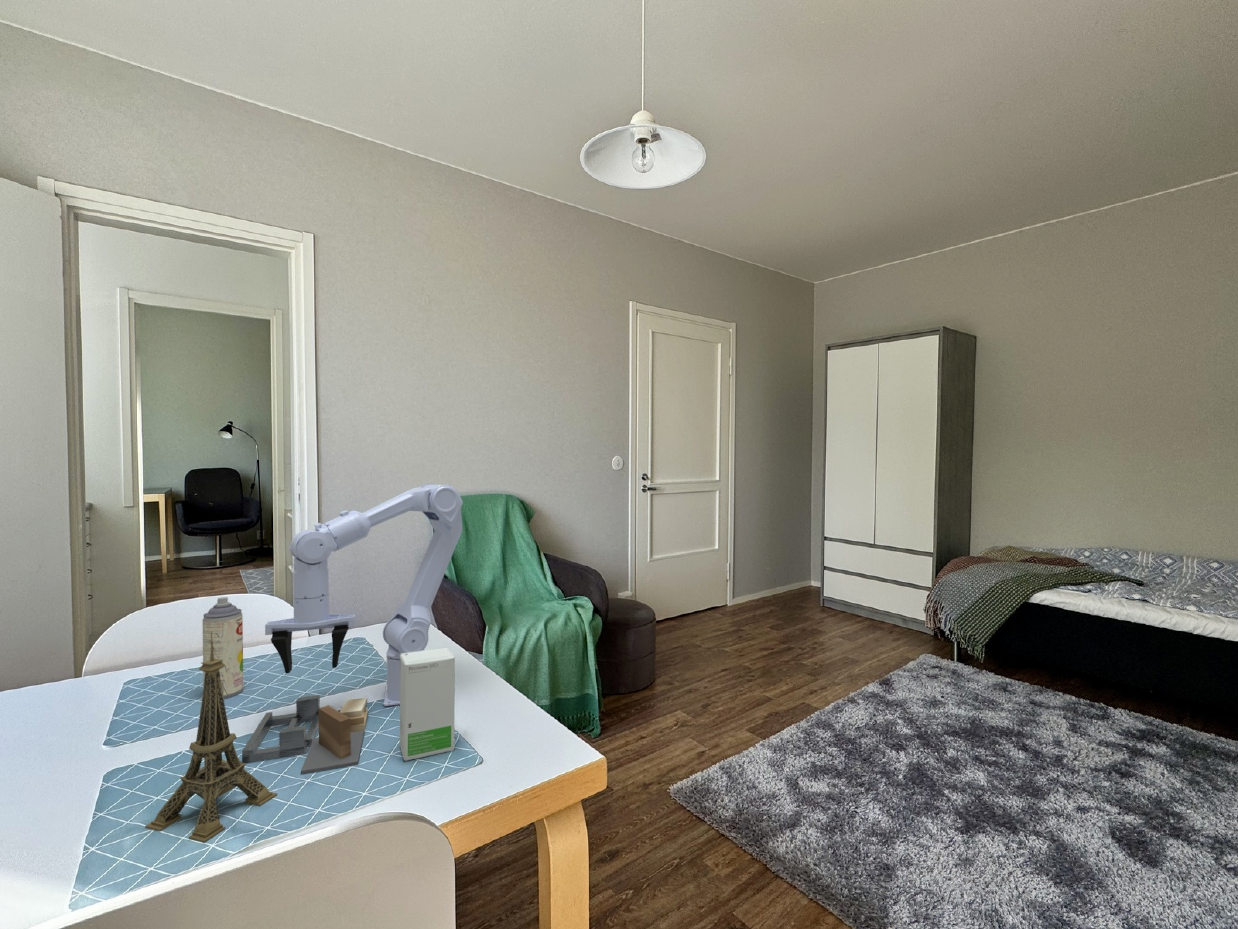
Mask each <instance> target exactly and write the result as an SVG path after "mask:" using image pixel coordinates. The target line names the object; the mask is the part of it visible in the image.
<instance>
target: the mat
mask: <svg viewBox="0 0 1238 929" xmlns="http://www.w3.org/2000/svg"><path fill="white" fill-rule="evenodd" d="M365 732H366V731H365V730H363V731H357V732H351V755H350V756H347V757H345V758H342V759H340V758H338V757H337V756H336V755H334V754H333V753H331V752H330V751H329V750H327V749H326V748H324V747H323V746H321V745H320V744H319V736H318V737H314V739H313V741H312V744H311V747H309V749H308V751H307V753H306V757H305V759H304V763H303V764H302V767H301V770H300V775H305V774H311V773H316V772H317V773H318V772H324V771H328V770H329V771H330V770H334V769H340V768H346V767H347V768H348V767H351V766H357V765H358V764H359V761H360V756H361V751H362V746H363V743H364V742H363V741H364V737H365Z"/></svg>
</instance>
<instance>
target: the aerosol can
mask: <svg viewBox="0 0 1238 929" xmlns="http://www.w3.org/2000/svg"><path fill="white" fill-rule="evenodd" d="M228 600H229V598H228V597H227V596H222V597H221V596H220V597H218V598H217V603H215V604H214V605H213V607H211V608H210V609H209V610H208V611H207V612H206V613H203V616H202V617H203V618H202V619H201V620H202V662H204V661H207V660H210V653H211V631H212V641H213V653H214V658H215V659H223V661H221V662H222V663H223V664H224V665H226V666H224V667H222V668H221V669H219V672H220V678H221V685H222V691H223V698H224V700H226V699H227V700H228V699H230V698H232V697H236V696H238V695H240V694H242V693H243V692H244V641H243V640H244V636H243V635H244V634H243V633H244V631H243V628H244V627H243V625H244V624H243V623H244V622H243V621H244V620H243V619H244V618H243V617H244V616H243V612H242V609H240V608H237V606H236V605H234V604H232V603H231V602H230V601H228ZM202 673H203V674H202V675H203V676H202V678H203V679H202V680H203V681H202V682H203V684H202V686H203V687H204V679H205V672H204V671H202Z"/></svg>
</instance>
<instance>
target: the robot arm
mask: <svg viewBox="0 0 1238 929" xmlns="http://www.w3.org/2000/svg"><path fill="white" fill-rule="evenodd" d="M463 504H464V501H463V499H462V497H461V496H460V494H459V492H458V490H457V489H456V488H455V487H454V486H452V485H450V484H435V483H425V484H422V485H421V486H419V487H418V486H417V487H414V488H411V489H408V490H407V491H405V492H402V493H400V494H398V495H397V496H393V497H392V498H390V499H387V501H384V502H381V503H380V504H378V505H376V506H374V507H371V508H370V509H368V510H365V511H364V512H361V511H357V510H351V511H348V510H343V511H340V512H339V515H340V516H337V517H335V518H333V519H331V520H328V521H326V522H324V523H321V522H317V523H316V524H314V529H305V530H301V531H299V532H297V533H296V534H295V536H294V537H292V540H291V542H290V545H289V546H288V548H289V552H290V554H291V555H292V556H293V557H294V558H293V572H292V575H293V576H292V583H293V584H292V586H293V587H292V588H293V591H292V592H293V594H292V595H293V596H292V598H293V617H292V618H288V619H287V618H285V619H281V620H272V621H267V622H266V623H265V625H264V636H271V635H272V636H271V638H270V642H271V644H272V645H273V647H274V648H275V649H276V650H275V651H277V653H278V655H279V657H280V660H281V663H282V665H283V670H284V674H290V673H291V671H292V670H293V656H292V639H293V632H300V631H301V632H303V631H311V630H322V629H323V630H324V629H332V631H331V640H332V641H331V642H332V644H331V645H332V658H331V659H332V660H331V667H332V668H331V669H336V668H338V665H339V658H340V652H341V649H342V645H343V643H344V640H345V638H346V635H347V633H348V631H349V628H354V627H355V626H356V613H352V614H351V613H350V614H330V611H329V610H330V605H329V604H330V601H329V600H330V599H329V596H330V595H329V594H330V593H329V568H328V558H330V556H331V554H332V552H334V553H336V552H338V551H339V550H341V549H343V548H345V547H348V546H350V545H352V544H354V543H356V542H358V541H361V540H362V539H364V538H366V537H368V535H369V532H370V530H371V528H373V527H374V526H378V525H379V524H382V523H385V522H387V521H389V520H391V519H394V518H396V517H398V516H401V515H403V514H405V513H408V512H421V513H422V514H424V515H425V517H427V518H428V520H429V522H430V524H431V526H432V529H433V530H434V531H433V535H432V537H431V540H430V541H429V544H428V546H427V549H426V550H425V553H424V555H423V558H422V560H421V562H420V565H419V566H418V569H417V572H416V575H415V576H414V579H413V582H412V583H411V586H410V589H409V591H408V593H407V595H406V598H405V600H404V602H403V603H401V605H399V607H397V608H396V610H395V613H394V614H393V616H392V617H391V618H390V619H388V620H387V622H386V623H385V625H384V627H383V629H382V638H383V640H384V642H385V643H386V644H387V645H388V648H387V651H386V690H385V694H384V700H383V706H384V707H389V706H390V707H391V706H397V705H400V668H401V664H400V654H402V653H410V652H418V651H422V650H426V647H427V645H428V642H429V629H430V626H431V624H432V618H431V614H430V610H431V608H432V605H433V602H434V601H435V598H436V596H437V594H438V591H439V588H440V586H441V583H442V582H443V579H444V576H445V574H446V571H447V568H448V567H449V564H450V561H451V559H452V557H453V554H454V552H455V550H456V547H457V545H458V542H459V540H460V538H461V536H462V531H463V519H462V518H463V516H462V506H463Z"/></svg>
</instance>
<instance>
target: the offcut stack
mask: <svg viewBox="0 0 1238 929" xmlns="http://www.w3.org/2000/svg"><path fill="white" fill-rule="evenodd" d="M367 705H368V697H359V698H349V699H346V700H345V702H344V704H343V706H340V711H339V712H341V713H342V714H344V715H346V716H347V717H349V718H350V727H351V732H357V731H363V730H365V729H366V726H367V721H368V716H369V707H367Z"/></svg>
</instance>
